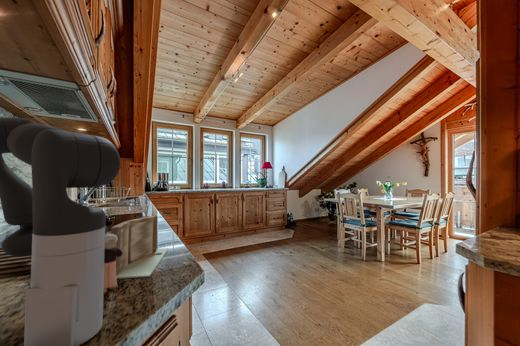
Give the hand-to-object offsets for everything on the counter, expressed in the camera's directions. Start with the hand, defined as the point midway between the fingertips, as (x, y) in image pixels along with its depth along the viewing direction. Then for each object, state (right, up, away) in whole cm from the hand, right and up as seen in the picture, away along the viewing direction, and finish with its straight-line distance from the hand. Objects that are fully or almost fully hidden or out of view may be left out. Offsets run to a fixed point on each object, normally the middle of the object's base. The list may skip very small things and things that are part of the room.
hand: (147, 236), depth 75 cm
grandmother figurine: (+2, -6, -22) cm, 23 cm away
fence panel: (0, -6, -3) cm, 7 cm away
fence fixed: (-1, -6, -13) cm, 14 cm away
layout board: (+1, -6, -6) cm, 9 cm away
